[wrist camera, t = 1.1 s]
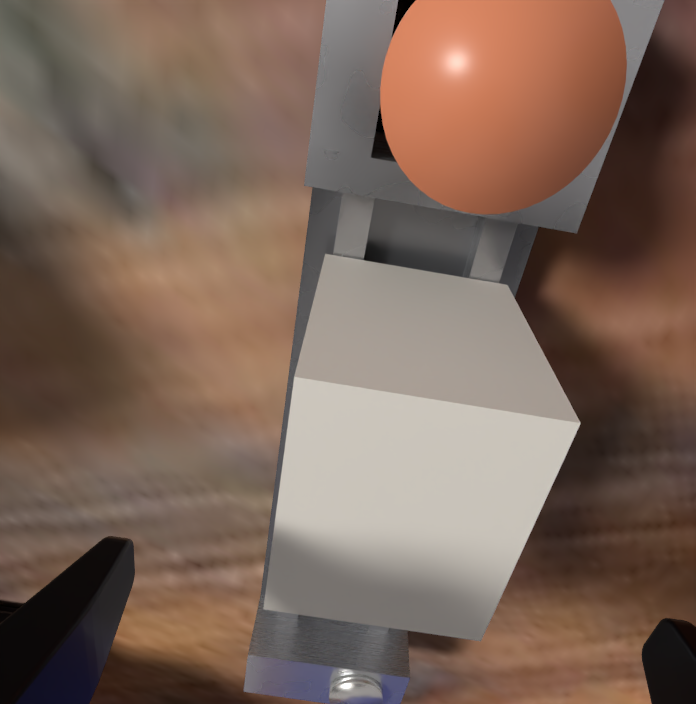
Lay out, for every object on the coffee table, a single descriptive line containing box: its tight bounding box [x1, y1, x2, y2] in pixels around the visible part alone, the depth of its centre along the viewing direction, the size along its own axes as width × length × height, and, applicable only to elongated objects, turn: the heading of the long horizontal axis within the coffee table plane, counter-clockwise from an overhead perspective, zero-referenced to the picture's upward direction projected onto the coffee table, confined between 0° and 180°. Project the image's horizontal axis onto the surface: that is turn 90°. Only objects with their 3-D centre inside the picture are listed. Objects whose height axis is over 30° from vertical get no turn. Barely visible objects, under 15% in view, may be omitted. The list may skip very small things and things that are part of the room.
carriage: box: [263, 254, 581, 641], centre depth 13 cm, size 6×5×6 cm
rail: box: [244, 0, 664, 704], centre depth 17 cm, size 24×6×4 cm, turn 171°
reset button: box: [380, 0, 627, 214], centre depth 10 cm, size 4×4×5 cm
